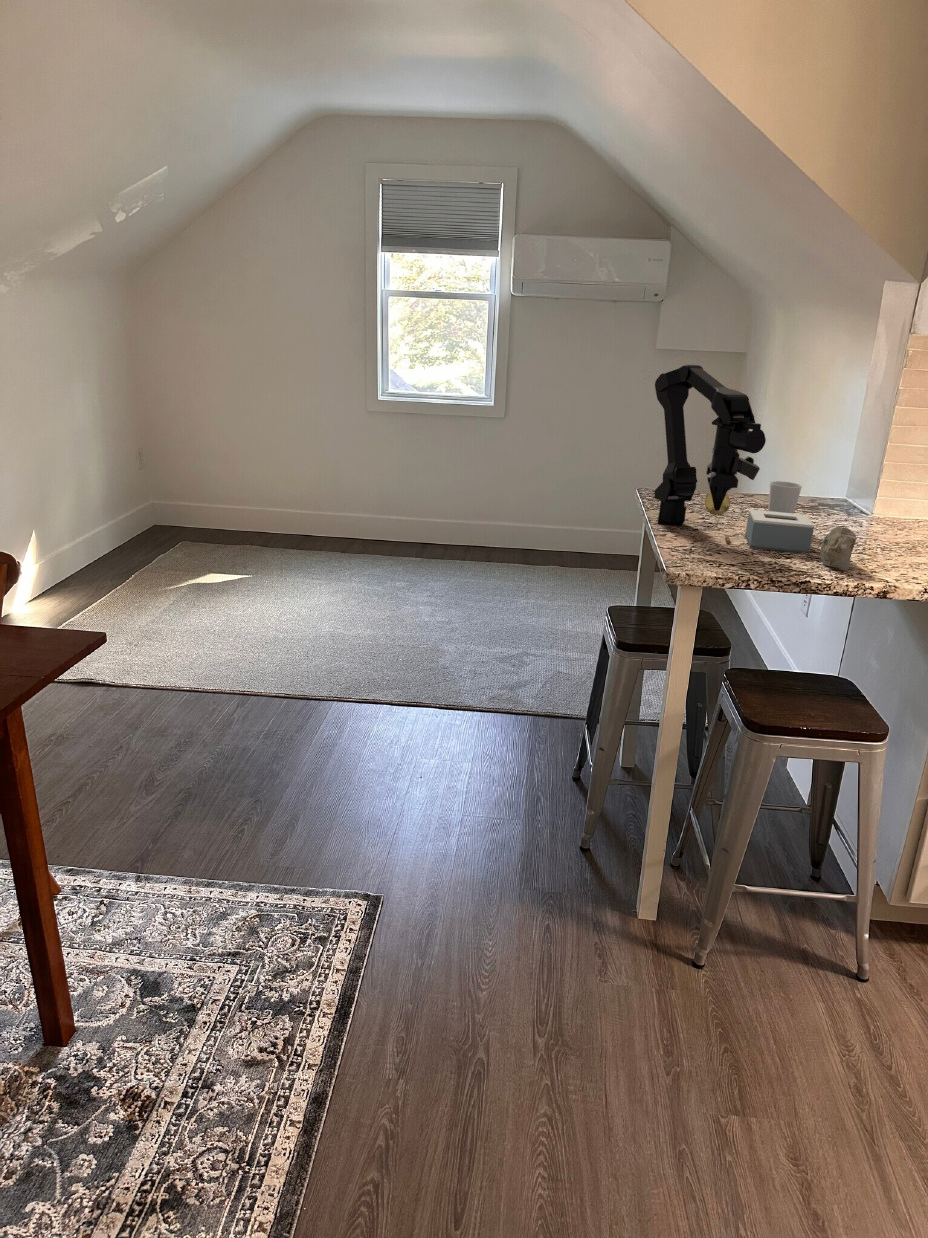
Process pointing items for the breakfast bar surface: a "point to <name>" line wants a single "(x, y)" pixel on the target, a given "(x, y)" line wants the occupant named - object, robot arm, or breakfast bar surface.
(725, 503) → the coin
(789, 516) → the box
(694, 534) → the coin stand
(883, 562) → the breakfast bar surface
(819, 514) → the breakfast bar surface
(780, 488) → the cup
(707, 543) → the breakfast bar surface
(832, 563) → the rock
